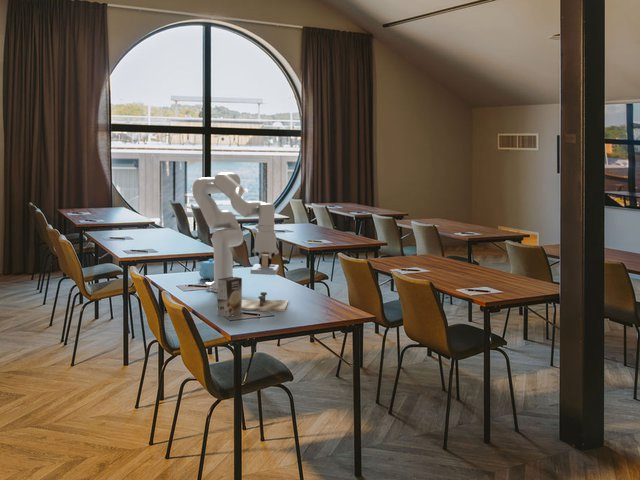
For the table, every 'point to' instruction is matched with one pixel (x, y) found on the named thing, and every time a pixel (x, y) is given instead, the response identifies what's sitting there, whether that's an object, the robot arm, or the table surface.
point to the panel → (264, 267)
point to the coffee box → (229, 296)
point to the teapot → (207, 269)
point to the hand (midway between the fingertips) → (265, 265)
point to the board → (264, 304)
